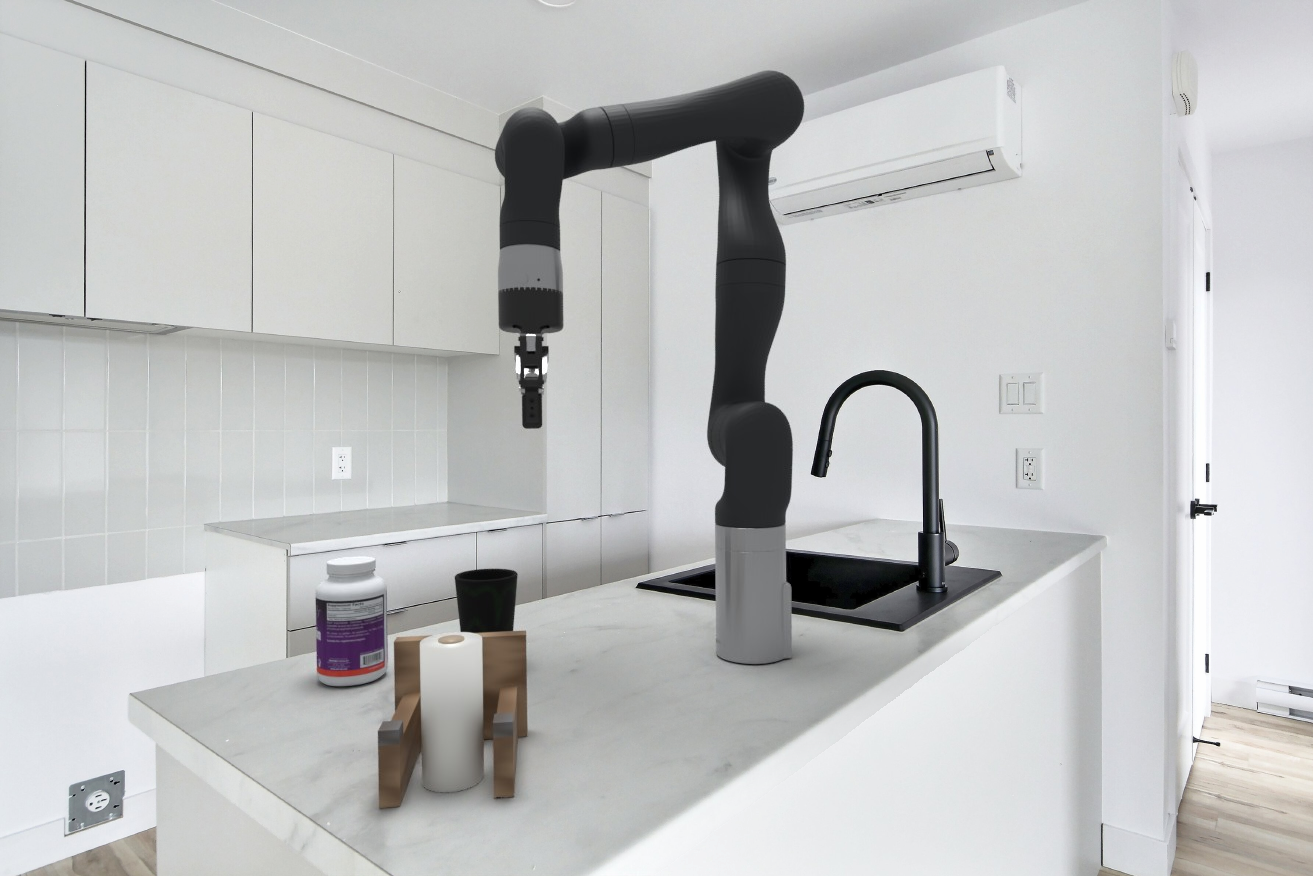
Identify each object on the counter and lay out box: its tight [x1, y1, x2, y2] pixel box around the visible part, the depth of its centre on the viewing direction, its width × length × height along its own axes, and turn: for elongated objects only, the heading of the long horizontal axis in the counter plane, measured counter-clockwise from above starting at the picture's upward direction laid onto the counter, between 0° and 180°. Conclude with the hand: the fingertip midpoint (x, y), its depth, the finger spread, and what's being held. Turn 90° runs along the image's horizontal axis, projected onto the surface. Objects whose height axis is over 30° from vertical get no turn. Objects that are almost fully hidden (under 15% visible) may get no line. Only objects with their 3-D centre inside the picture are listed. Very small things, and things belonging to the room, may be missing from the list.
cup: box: [454, 568, 519, 633], centre depth 94 cm, size 8×8×12 cm
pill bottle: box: [314, 555, 389, 687], centre depth 91 cm, size 8×8×14 cm
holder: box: [377, 630, 528, 809], centre depth 68 cm, size 12×14×10 cm
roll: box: [420, 631, 485, 794], centre depth 65 cm, size 5×5×12 cm
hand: (532, 428), depth 88 cm, fingers open, 8 cm apart
